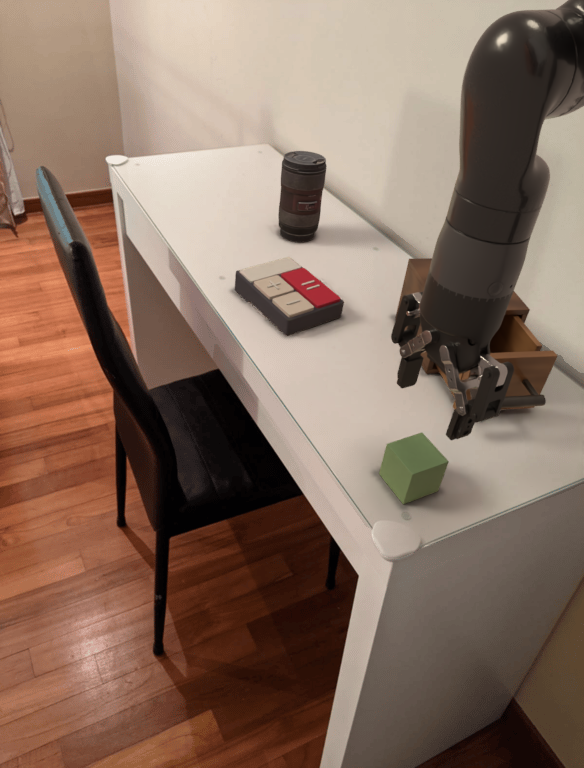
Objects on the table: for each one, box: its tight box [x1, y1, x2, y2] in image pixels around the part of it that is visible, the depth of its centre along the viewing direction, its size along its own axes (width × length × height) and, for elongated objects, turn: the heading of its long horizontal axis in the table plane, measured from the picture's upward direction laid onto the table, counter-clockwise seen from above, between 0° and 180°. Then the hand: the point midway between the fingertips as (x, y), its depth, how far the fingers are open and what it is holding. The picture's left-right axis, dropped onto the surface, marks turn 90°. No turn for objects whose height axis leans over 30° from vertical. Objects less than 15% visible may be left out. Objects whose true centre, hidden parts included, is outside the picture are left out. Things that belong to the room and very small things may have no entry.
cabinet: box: [395, 257, 531, 375], centre depth 91 cm, size 15×13×11 cm
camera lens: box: [277, 150, 327, 243], centre depth 114 cm, size 8×8×15 cm
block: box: [378, 432, 450, 505], centre depth 70 cm, size 5×5×5 cm
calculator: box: [234, 256, 345, 336], centre depth 98 cm, size 11×4×15 cm
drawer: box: [435, 315, 558, 411], centre depth 82 cm, size 18×11×9 cm, turn 10°
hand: (429, 409), depth 64 cm, fingers open, 8 cm apart
